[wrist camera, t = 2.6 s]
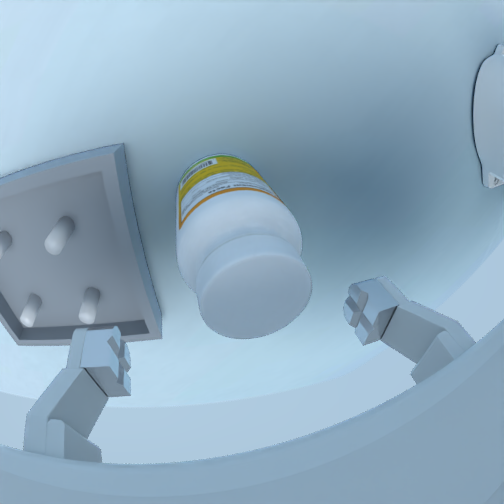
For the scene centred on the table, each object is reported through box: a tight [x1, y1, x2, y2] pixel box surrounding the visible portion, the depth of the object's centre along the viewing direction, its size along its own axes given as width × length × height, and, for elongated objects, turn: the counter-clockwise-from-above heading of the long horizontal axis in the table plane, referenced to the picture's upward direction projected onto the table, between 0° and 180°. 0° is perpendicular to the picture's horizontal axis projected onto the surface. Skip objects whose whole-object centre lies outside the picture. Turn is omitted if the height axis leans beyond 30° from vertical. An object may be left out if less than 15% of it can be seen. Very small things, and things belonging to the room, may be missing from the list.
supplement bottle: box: [176, 154, 312, 339], centre depth 13 cm, size 5×5×10 cm
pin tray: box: [0, 143, 162, 346], centre depth 15 cm, size 15×14×4 cm
